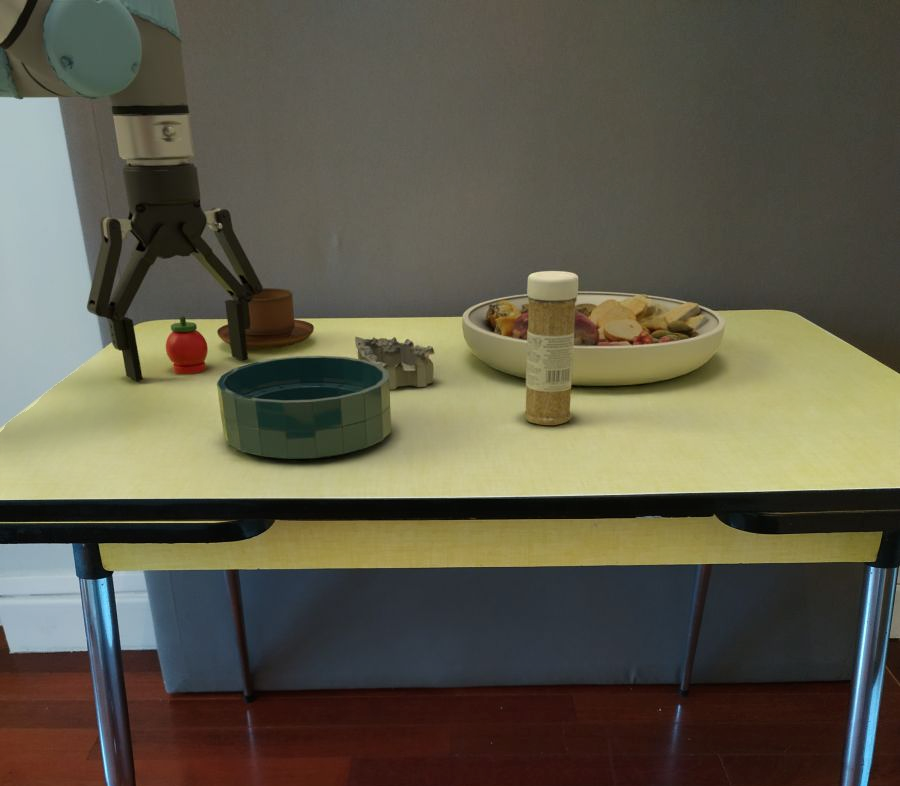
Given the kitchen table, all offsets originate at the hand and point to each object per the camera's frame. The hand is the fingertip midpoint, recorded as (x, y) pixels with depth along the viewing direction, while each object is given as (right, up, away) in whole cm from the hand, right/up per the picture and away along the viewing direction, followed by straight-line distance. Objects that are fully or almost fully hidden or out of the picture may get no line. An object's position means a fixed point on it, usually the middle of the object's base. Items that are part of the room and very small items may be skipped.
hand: (189, 368), depth 105 cm
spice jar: (+39, -9, -17) cm, 44 cm away
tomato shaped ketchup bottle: (0, 0, 0) cm, 0 cm away
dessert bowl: (+17, -12, -21) cm, 29 cm away
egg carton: (+24, -2, -3) cm, 24 cm away
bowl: (+47, +2, +3) cm, 47 cm away
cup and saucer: (+7, +6, +11) cm, 14 cm away
